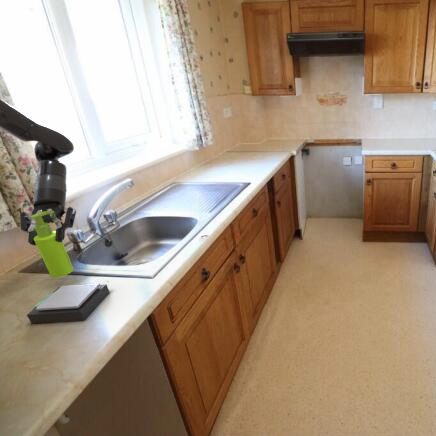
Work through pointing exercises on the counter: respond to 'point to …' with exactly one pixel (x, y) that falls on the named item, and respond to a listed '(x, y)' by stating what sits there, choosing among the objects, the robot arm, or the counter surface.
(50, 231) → the soap dispenser
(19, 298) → the counter surface
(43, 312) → the kitchen scale
